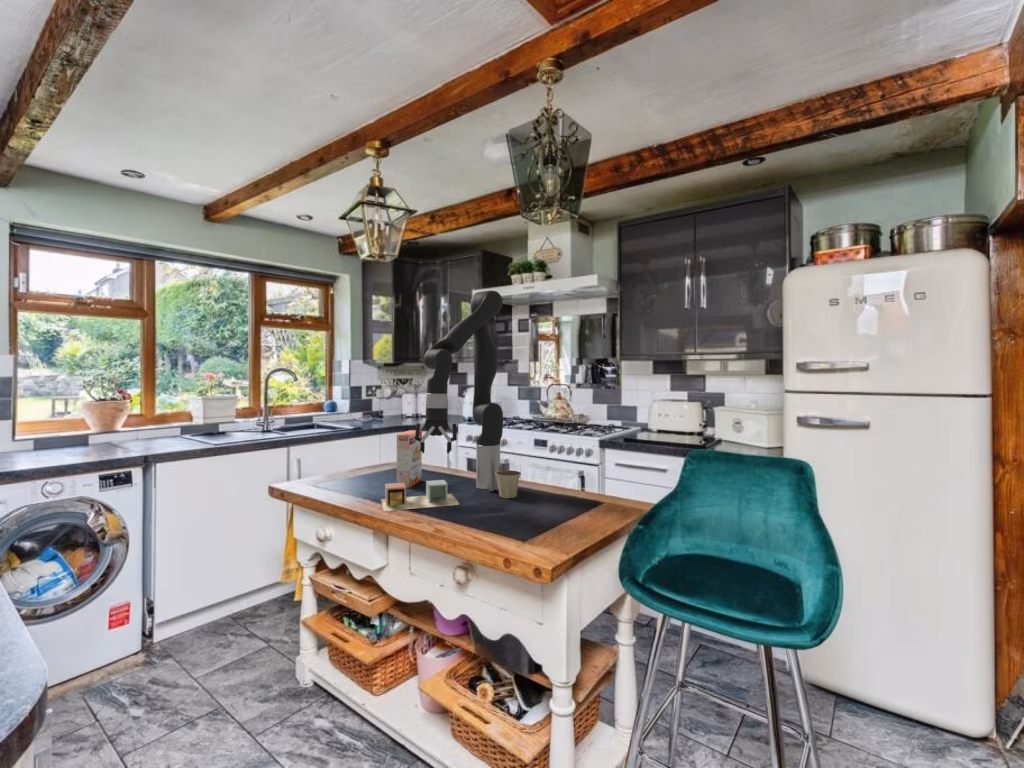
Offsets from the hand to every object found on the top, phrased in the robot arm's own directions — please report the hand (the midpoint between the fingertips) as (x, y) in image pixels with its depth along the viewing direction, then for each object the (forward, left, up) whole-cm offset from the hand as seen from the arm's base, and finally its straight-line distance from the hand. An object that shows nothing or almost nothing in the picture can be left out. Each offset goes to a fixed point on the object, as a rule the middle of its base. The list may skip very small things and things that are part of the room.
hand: (435, 452), depth 180 cm
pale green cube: (0, +1, -16) cm, 16 cm away
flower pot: (-26, +1, -17) cm, 31 cm away
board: (+6, +2, -17) cm, 18 cm away
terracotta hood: (+14, +1, -16) cm, 21 cm away
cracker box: (+6, -28, -17) cm, 33 cm away
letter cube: (+14, +2, -16) cm, 21 cm away
